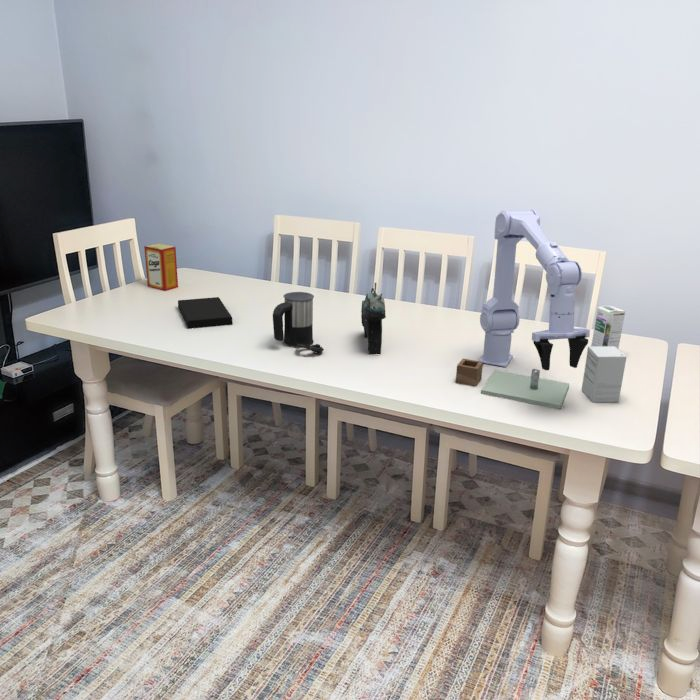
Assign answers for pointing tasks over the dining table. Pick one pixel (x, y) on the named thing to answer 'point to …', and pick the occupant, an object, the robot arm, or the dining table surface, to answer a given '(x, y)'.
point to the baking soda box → (161, 266)
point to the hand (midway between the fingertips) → (559, 368)
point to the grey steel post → (534, 379)
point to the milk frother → (295, 321)
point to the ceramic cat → (373, 320)
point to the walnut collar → (469, 372)
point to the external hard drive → (204, 312)
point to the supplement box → (603, 374)
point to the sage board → (525, 389)
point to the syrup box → (608, 327)
